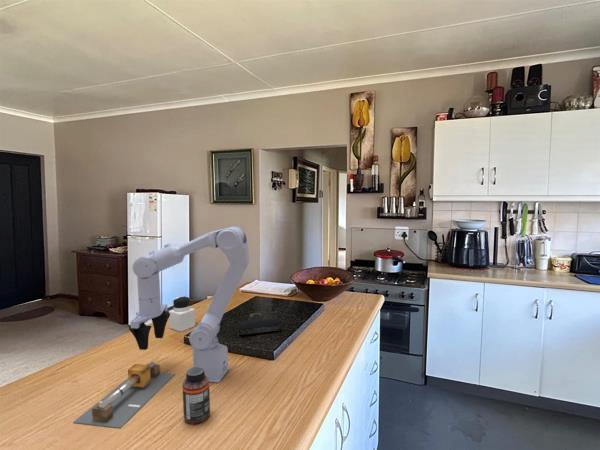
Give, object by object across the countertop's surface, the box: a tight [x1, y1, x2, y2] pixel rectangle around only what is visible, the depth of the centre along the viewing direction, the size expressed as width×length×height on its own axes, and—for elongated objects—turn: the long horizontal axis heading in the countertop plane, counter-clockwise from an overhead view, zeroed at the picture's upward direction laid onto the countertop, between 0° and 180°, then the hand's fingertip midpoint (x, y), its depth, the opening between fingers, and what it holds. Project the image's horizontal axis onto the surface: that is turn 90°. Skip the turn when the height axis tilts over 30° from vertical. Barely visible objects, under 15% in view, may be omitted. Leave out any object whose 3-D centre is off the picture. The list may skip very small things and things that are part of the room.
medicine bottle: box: [168, 295, 196, 333], centre depth 132 cm, size 7×7×12 cm
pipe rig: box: [72, 361, 176, 429], centre depth 86 cm, size 12×23×4 cm, turn 171°
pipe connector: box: [238, 312, 281, 330], centre depth 130 cm, size 12×5×15 cm
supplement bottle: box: [182, 366, 211, 425], centre depth 78 cm, size 6×6×11 cm
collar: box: [127, 363, 151, 387], centre depth 90 cm, size 4×3×5 cm
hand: (151, 343), depth 96 cm, fingers open, 7 cm apart
